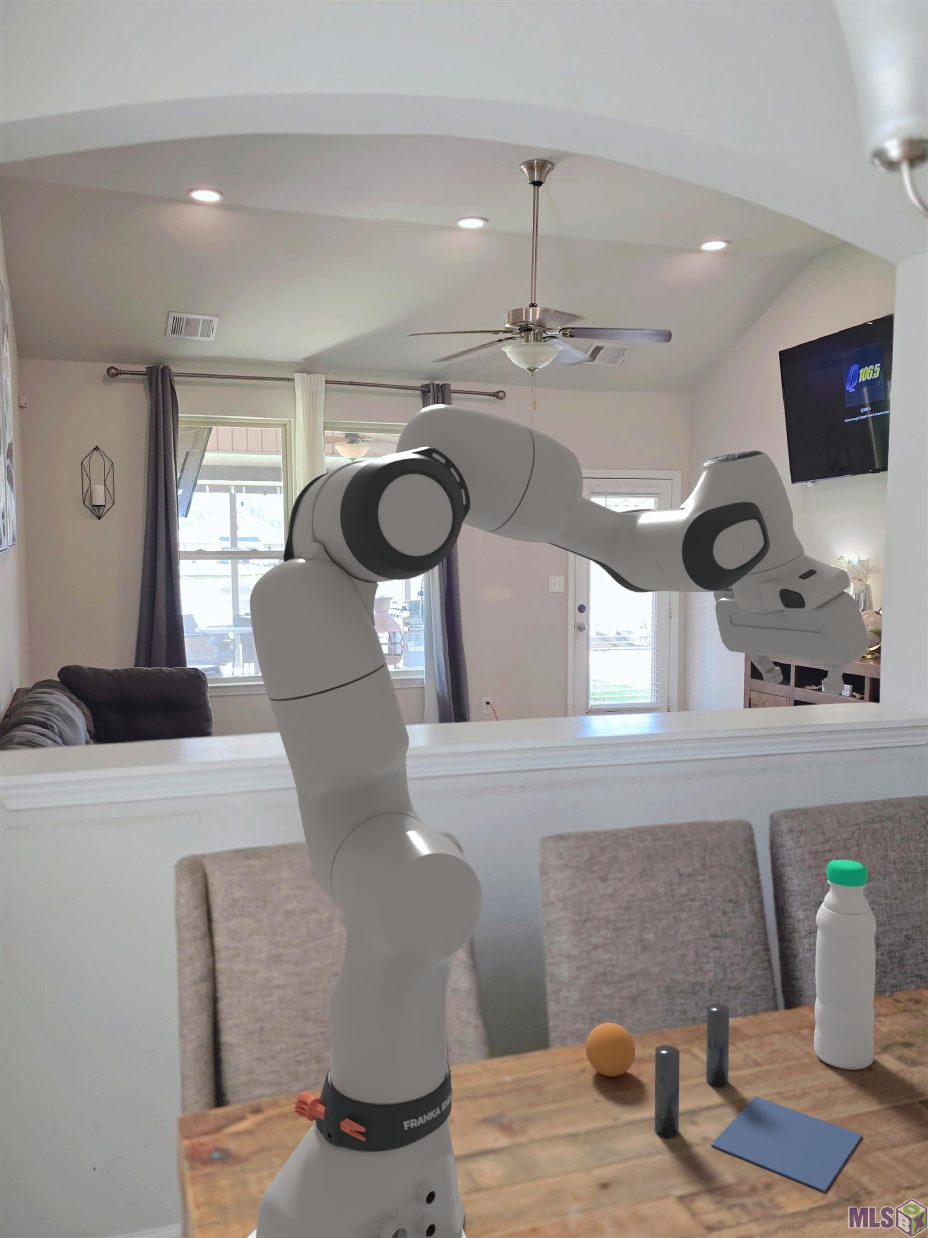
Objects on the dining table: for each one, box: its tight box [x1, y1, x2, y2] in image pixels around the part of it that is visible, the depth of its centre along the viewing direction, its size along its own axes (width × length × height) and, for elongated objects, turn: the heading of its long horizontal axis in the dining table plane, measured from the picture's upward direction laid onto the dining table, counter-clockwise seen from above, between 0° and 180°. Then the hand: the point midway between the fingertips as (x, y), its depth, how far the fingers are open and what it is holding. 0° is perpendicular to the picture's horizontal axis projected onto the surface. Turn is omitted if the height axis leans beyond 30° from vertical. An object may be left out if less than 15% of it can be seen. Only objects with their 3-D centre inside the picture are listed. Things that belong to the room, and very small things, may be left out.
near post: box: [654, 1044, 681, 1139], centre depth 104 cm, size 3×3×9 cm
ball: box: [585, 1022, 636, 1077], centre depth 116 cm, size 6×6×6 cm
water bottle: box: [813, 859, 877, 1071], centre depth 119 cm, size 7×7×25 cm
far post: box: [705, 1003, 730, 1088], centre depth 114 cm, size 3×3×9 cm
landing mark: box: [711, 1096, 863, 1193], centre depth 102 cm, size 12×12×1 cm
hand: (803, 687), depth 114 cm, fingers open, 8 cm apart
